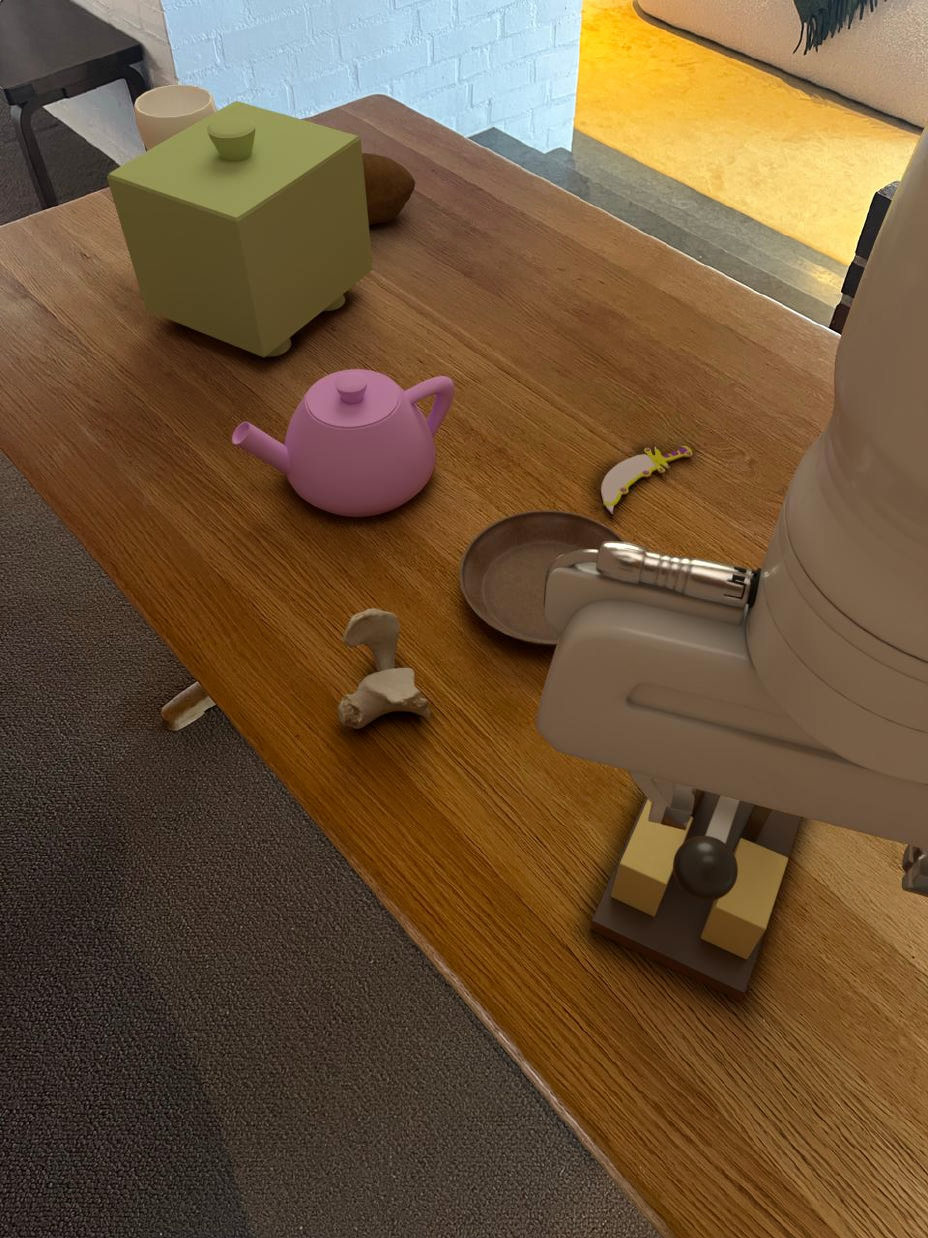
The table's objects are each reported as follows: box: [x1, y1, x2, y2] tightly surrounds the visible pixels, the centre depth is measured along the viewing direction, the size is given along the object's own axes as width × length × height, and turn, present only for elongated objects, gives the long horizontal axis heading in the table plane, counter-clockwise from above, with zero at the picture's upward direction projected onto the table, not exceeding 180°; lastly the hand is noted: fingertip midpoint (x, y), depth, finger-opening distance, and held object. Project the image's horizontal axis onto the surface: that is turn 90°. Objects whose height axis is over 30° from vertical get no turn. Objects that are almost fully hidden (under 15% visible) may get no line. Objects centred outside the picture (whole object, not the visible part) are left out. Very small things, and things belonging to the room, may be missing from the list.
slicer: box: [589, 789, 803, 1002], centre depth 62 cm, size 20×10×11 cm, turn 153°
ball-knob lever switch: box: [673, 795, 740, 901], centre depth 54 cm, size 15×3×3 cm, turn 153°
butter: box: [611, 800, 789, 959], centre depth 60 cm, size 9×5×5 cm, turn 63°
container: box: [106, 100, 373, 358], centre depth 99 cm, size 19×16×20 cm
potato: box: [362, 152, 416, 226], centre depth 116 cm, size 8×12×8 cm, turn 114°
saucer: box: [458, 509, 626, 647], centre depth 79 cm, size 15×15×3 cm
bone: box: [337, 608, 431, 730], centre depth 70 cm, size 9×6×10 cm
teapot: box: [231, 368, 455, 518], centre depth 85 cm, size 14×20×11 cm
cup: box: [133, 84, 218, 151], centre depth 110 cm, size 9×9×16 cm
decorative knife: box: [600, 445, 693, 515], centre depth 89 cm, size 12×1×5 cm
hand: (792, 843), depth 37 cm, fingers open, 8 cm apart
